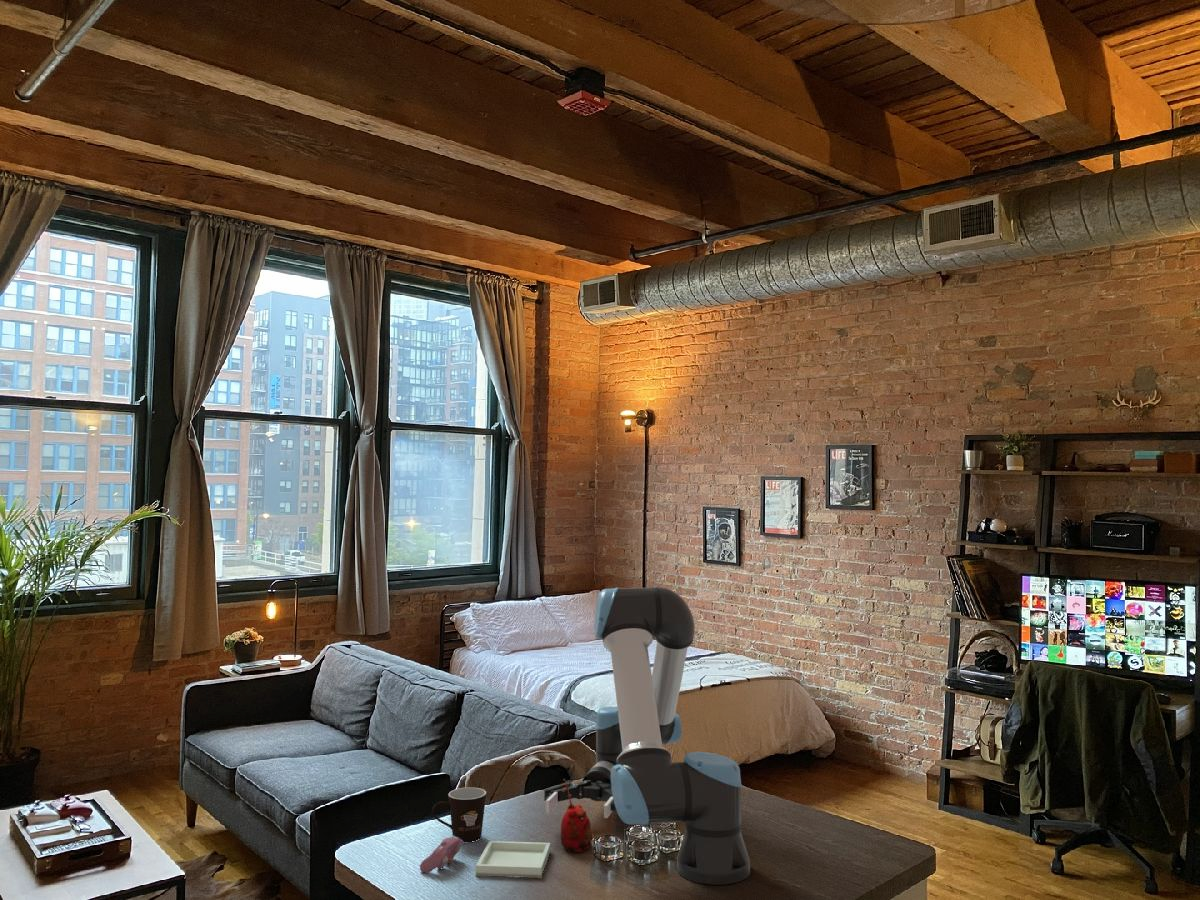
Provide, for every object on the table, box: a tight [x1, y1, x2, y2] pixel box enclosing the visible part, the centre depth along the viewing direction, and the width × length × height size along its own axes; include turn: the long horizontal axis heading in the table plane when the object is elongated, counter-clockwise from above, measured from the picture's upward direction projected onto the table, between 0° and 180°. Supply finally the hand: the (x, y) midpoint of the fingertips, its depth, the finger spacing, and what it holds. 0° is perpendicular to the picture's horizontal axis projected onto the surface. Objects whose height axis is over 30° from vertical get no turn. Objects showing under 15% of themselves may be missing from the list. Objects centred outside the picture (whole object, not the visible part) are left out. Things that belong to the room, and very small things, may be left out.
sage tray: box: [475, 840, 552, 878], centre depth 190 cm, size 14×14×2 cm
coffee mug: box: [431, 787, 487, 843], centre depth 205 cm, size 12×9×10 cm
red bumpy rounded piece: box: [560, 778, 594, 854], centre depth 199 cm, size 8×7×15 cm
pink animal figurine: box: [419, 835, 464, 873], centre depth 189 cm, size 10×5×7 cm, turn 160°
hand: (576, 809), depth 201 cm, fingers open, 13 cm apart
